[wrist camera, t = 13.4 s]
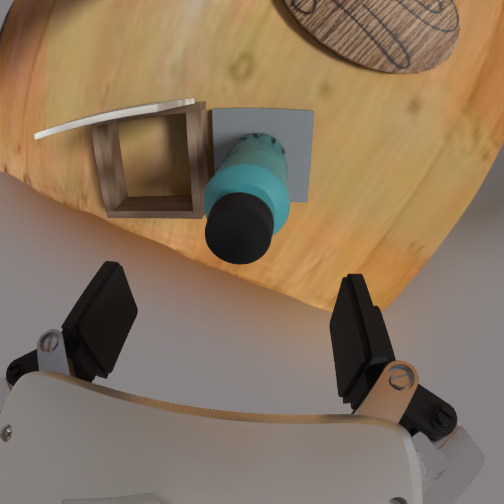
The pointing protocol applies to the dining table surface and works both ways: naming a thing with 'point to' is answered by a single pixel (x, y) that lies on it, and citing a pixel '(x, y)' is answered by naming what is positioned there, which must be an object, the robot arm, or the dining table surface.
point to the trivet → (382, 31)
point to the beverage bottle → (247, 199)
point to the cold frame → (112, 165)
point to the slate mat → (270, 122)
